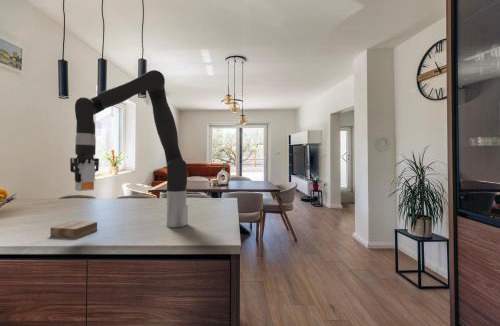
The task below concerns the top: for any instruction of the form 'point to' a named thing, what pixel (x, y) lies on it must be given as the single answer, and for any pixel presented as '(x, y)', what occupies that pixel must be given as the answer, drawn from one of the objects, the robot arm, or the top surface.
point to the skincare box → (86, 178)
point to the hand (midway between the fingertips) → (85, 181)
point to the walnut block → (73, 229)
